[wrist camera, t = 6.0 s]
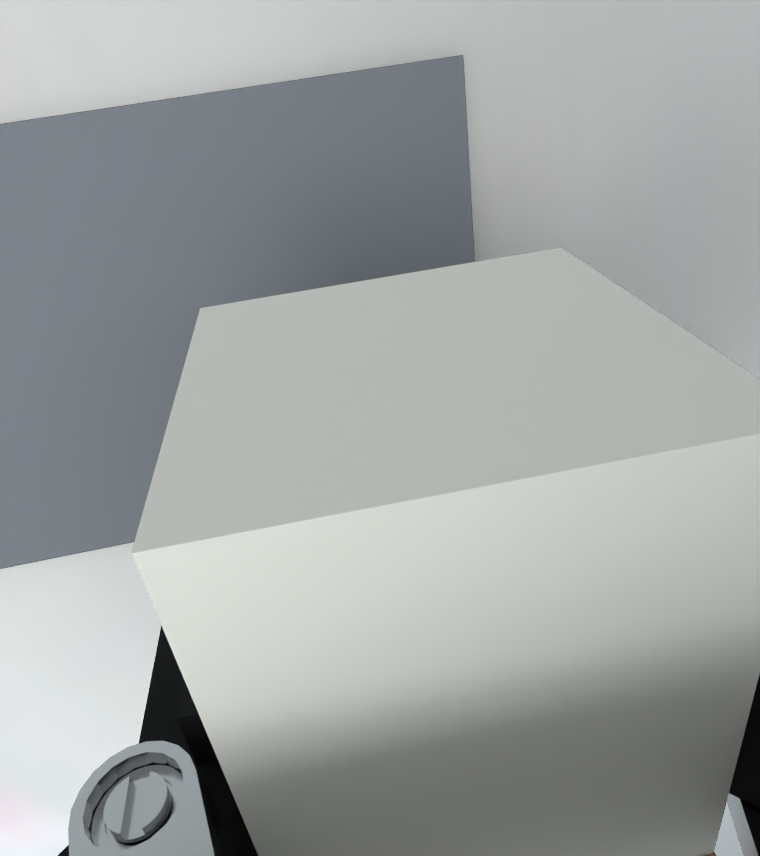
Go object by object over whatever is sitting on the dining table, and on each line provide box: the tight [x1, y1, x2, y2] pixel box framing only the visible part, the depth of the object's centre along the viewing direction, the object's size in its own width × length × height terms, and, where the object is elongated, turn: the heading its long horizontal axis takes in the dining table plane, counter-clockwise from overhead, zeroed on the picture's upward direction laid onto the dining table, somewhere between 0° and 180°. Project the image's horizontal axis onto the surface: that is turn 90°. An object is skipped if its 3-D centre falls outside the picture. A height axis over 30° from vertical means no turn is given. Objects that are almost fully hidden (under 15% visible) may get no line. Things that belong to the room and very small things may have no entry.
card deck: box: [131, 247, 760, 856], centre depth 9 cm, size 5×9×5 cm, turn 7°
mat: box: [0, 55, 475, 569], centre depth 21 cm, size 24×14×1 cm, turn 97°
